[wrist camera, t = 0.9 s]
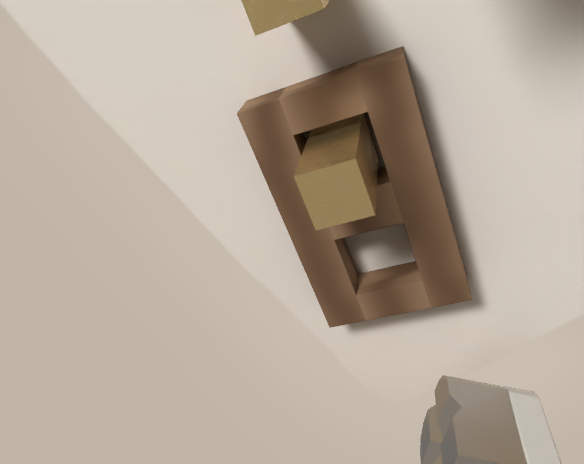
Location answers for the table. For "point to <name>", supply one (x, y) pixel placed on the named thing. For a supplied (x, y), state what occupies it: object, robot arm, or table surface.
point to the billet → (279, 12)
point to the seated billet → (338, 173)
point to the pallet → (389, 199)
